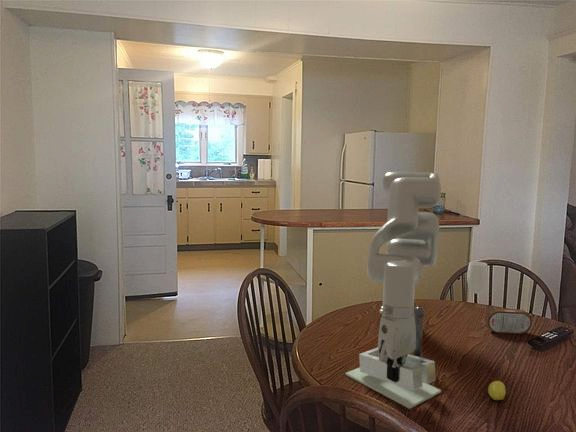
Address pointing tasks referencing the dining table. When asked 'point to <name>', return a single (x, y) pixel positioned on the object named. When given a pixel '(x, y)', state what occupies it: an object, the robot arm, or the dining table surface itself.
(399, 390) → the mat
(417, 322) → the stand
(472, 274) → the cup
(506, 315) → the tin
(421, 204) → the robot arm
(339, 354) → the dining table surface
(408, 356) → the c link
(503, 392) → the lemon
